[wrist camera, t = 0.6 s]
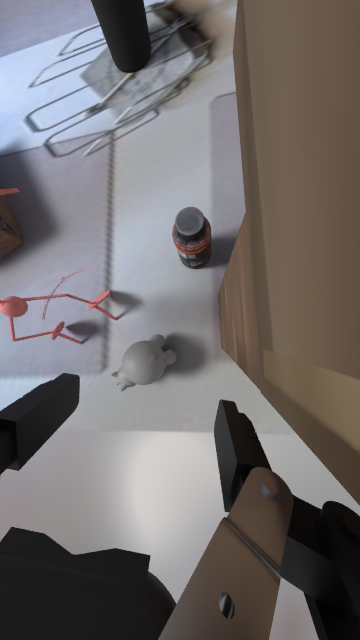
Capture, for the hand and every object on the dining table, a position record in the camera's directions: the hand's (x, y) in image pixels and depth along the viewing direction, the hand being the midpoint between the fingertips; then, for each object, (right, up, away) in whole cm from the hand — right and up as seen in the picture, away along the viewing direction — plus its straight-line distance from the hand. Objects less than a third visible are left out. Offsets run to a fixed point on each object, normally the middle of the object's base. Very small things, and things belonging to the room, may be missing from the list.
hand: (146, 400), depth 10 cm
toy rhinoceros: (-5, -4, +26) cm, 26 cm away
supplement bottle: (+5, +17, +25) cm, 31 cm away
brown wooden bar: (+16, +7, -9) cm, 19 cm away
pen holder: (-9, +63, +30) cm, 71 cm away
